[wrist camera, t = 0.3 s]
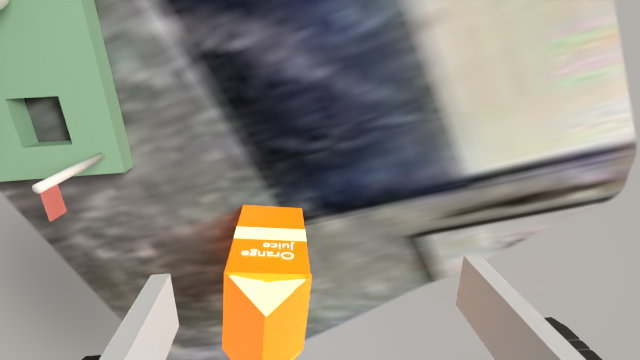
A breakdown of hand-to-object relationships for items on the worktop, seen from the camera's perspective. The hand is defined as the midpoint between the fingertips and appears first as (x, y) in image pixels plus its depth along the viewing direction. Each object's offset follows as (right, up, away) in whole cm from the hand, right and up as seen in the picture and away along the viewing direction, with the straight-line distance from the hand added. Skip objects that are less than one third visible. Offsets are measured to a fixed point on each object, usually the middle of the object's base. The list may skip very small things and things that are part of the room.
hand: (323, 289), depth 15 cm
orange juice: (-7, -2, +30) cm, 30 cm away
